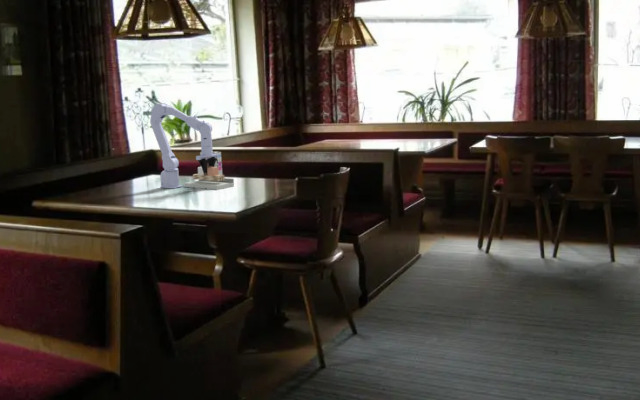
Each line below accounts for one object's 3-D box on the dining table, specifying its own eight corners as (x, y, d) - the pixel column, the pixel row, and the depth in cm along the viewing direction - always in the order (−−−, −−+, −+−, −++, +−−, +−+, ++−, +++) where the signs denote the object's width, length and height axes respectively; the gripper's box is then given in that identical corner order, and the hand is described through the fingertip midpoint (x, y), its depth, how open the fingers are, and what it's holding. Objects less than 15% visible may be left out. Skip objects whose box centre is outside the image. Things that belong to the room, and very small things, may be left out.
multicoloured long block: (193, 179, 364) (192, 166, 363) (199, 178, 368) (198, 165, 367) (218, 181, 354) (217, 167, 353) (224, 179, 358) (223, 166, 357)
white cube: (198, 174, 362) (197, 167, 362) (203, 173, 366) (203, 166, 365) (203, 175, 360) (203, 167, 359) (209, 174, 363) (208, 166, 363)
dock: (184, 186, 364) (184, 179, 363) (200, 183, 374) (200, 176, 373) (218, 189, 350) (217, 181, 350) (233, 186, 360) (233, 178, 359)
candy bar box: (223, 180, 382) (221, 151, 380) (218, 182, 378) (217, 152, 375) (205, 180, 387) (204, 151, 384) (201, 181, 382) (199, 152, 379)
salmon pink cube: (207, 175, 358) (207, 167, 358) (213, 174, 362) (212, 166, 361) (213, 175, 356) (213, 168, 355) (218, 174, 359) (218, 167, 359)
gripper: (202, 147, 350) (204, 174, 352) (221, 145, 362) (223, 170, 364) (192, 147, 354) (194, 173, 356) (212, 145, 366) (213, 170, 368)
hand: (208, 172), depth 361 cm, fingers closed on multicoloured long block, 4 cm apart
